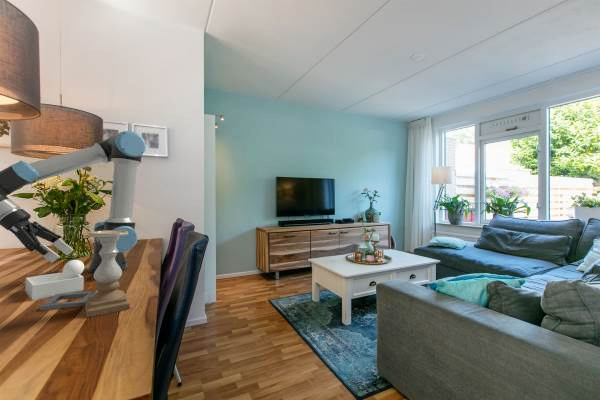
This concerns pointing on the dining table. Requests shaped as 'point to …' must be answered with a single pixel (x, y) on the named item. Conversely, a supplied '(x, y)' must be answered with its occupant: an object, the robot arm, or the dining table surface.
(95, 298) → the candle holder
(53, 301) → the dark grey square frame
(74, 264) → the lightbulb
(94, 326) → the dining table surface
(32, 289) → the bin
